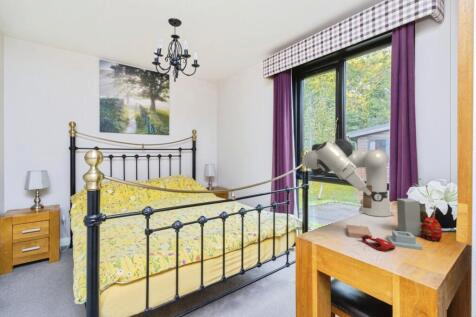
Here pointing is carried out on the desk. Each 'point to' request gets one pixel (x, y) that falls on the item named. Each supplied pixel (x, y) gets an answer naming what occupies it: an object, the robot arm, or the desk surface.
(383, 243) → the tracker holder
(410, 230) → the skincare box
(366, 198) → the post
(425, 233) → the red clay folk toy
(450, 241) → the desk surface
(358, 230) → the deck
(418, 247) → the grey square socket base
